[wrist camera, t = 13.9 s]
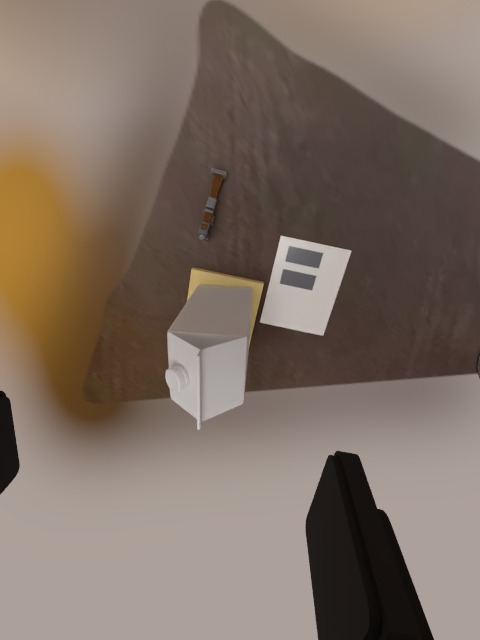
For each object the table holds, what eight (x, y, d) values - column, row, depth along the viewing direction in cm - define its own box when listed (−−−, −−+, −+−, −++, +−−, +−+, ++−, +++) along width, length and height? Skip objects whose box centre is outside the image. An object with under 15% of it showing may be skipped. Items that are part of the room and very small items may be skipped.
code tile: (350, 250, 40) (351, 250, 40) (322, 334, 45) (323, 335, 45) (280, 235, 40) (280, 235, 40) (259, 321, 45) (259, 322, 44)
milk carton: (252, 287, 42) (244, 359, 24) (249, 336, 44) (240, 433, 27) (198, 283, 42) (151, 352, 24) (198, 333, 45) (157, 426, 27)
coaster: (263, 281, 42) (263, 284, 41) (249, 344, 46) (248, 348, 45) (193, 267, 42) (191, 268, 41) (183, 331, 46) (182, 334, 45)
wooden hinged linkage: (196, 245, 40) (192, 235, 36) (213, 184, 41) (211, 166, 36) (210, 249, 40) (208, 239, 36) (227, 188, 41) (226, 171, 36)
